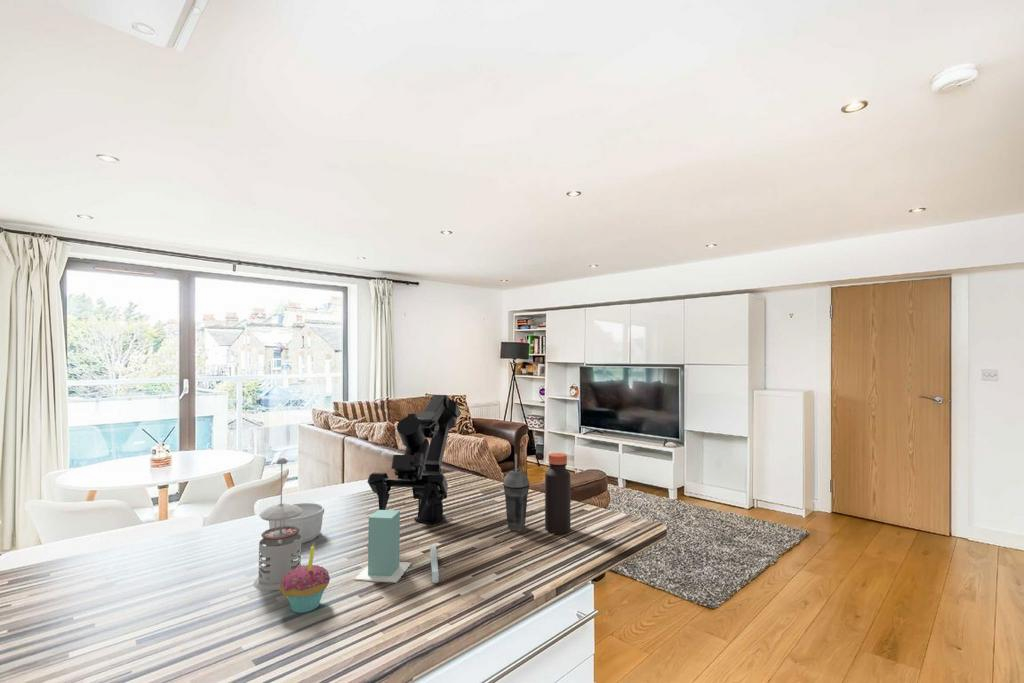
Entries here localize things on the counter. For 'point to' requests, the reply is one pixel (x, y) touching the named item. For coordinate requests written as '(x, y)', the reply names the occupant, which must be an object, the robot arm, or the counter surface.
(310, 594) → the cupcake
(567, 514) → the bottle
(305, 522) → the ramekin
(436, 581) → the acrylic strip
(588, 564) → the counter surface
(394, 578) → the resting pad
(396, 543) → the sage block
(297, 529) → the french press
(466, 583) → the counter surface
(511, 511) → the beverage cup
